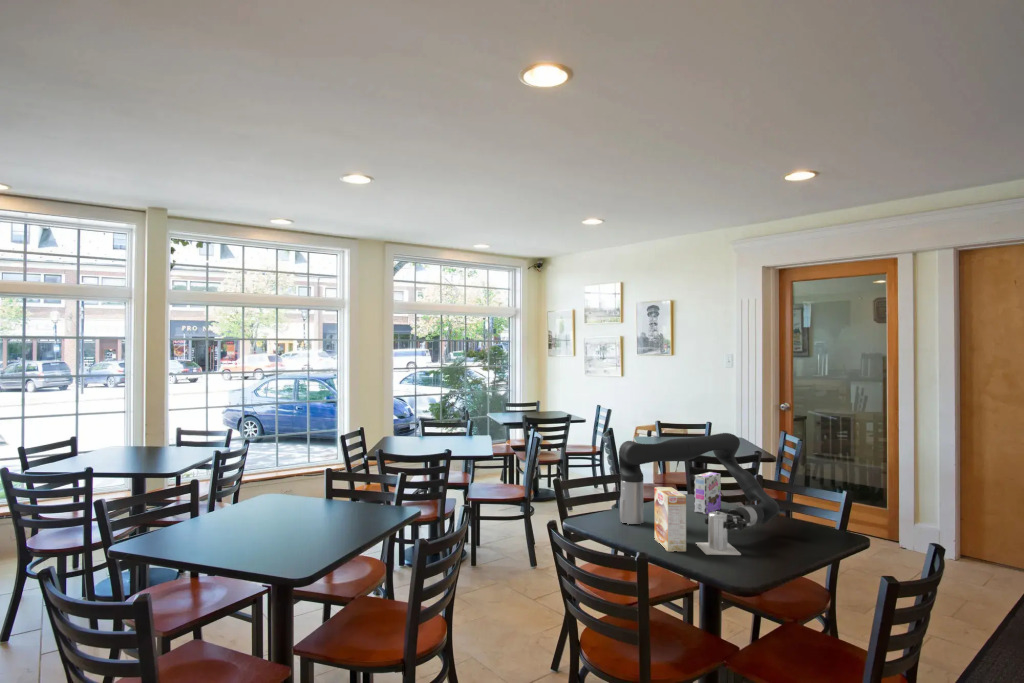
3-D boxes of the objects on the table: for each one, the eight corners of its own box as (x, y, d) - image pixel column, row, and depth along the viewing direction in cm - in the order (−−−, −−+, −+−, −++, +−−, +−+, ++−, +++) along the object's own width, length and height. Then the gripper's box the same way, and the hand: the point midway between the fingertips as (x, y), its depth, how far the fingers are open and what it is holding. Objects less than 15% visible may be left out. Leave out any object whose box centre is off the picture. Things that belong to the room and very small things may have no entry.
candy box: (705, 514, 257) (705, 476, 257) (693, 512, 261) (693, 474, 262) (721, 509, 266) (721, 473, 267) (709, 507, 270) (709, 471, 271)
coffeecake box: (653, 539, 220) (653, 486, 221) (672, 538, 221) (672, 486, 221) (667, 552, 205) (667, 495, 206) (686, 551, 206) (686, 495, 206)
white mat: (706, 554, 203) (706, 553, 203) (695, 543, 215) (695, 542, 215) (740, 555, 203) (740, 553, 203) (728, 544, 215) (728, 542, 215)
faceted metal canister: (711, 550, 206) (711, 513, 206) (706, 545, 212) (706, 509, 212) (729, 550, 206) (729, 513, 206) (723, 545, 212) (723, 509, 212)
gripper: (724, 503, 224) (699, 509, 214) (759, 511, 213) (734, 517, 203) (724, 523, 224) (699, 530, 214) (760, 531, 213) (734, 539, 203)
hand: (716, 524), depth 209 cm, fingers open, 8 cm apart
